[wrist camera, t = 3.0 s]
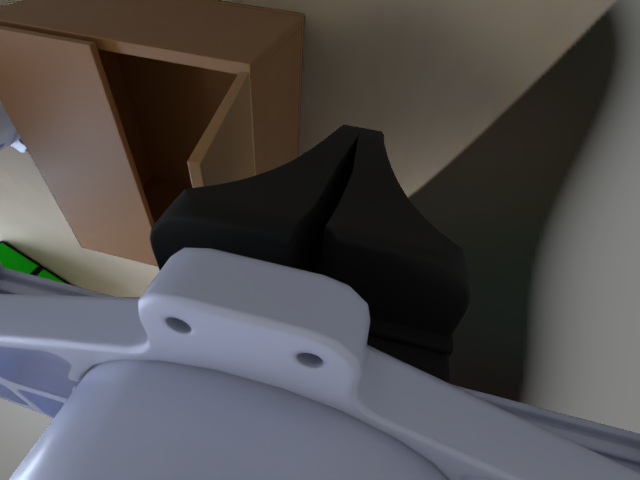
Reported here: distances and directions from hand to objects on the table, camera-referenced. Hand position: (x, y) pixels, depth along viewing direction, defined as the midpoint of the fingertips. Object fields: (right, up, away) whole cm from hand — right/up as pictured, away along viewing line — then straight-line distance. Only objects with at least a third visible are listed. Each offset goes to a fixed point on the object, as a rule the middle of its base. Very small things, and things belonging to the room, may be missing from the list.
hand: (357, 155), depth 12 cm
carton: (-8, +6, +12) cm, 16 cm away
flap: (-5, -3, +3) cm, 7 cm away
